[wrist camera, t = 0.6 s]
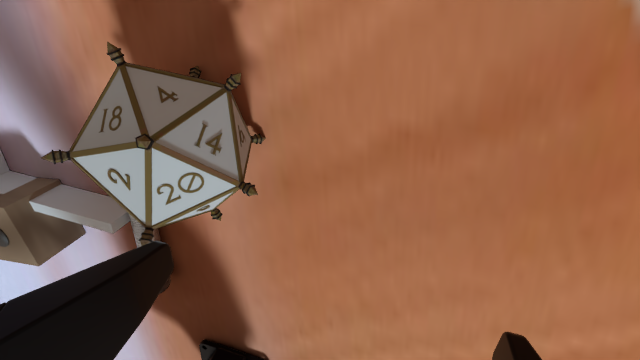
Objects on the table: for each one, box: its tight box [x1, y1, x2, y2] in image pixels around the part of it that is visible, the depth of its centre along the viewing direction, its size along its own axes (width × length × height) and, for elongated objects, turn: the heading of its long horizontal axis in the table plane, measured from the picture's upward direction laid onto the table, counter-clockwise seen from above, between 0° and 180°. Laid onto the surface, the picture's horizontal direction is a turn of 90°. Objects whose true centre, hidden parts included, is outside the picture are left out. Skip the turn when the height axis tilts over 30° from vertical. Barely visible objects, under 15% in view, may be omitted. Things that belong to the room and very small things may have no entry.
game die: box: [42, 42, 266, 246], centre depth 16 cm, size 9×8×10 cm
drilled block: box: [0, 178, 86, 266], centre depth 26 cm, size 5×5×4 cm
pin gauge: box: [129, 214, 171, 294], centre depth 25 cm, size 8×2×2 cm, turn 176°
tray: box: [0, 149, 130, 234], centre depth 21 cm, size 17×13×2 cm
